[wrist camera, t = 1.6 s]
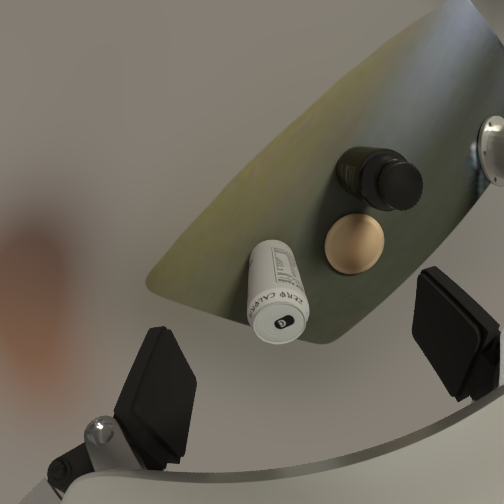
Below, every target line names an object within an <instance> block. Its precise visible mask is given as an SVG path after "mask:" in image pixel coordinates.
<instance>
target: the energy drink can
mask: <svg viewBox="0 0 504 504" xmlns="http://www.w3.org/2000/svg"><path fill="white" fill-rule="evenodd" d="M308 317H309V305H308V301H307V298H306V295H305V291H304V288H303V285H302V281H301V278H300V275H299V271H298V268H297V265H296V262H295V259H294V255H293V253H292V250H291V249H290V248H289V247H288V246H287V245H286V244H285V243H283V242H281V241H278V240H267V241H263V242H261V243H259V244H258V245H257V246H256V247H255V248H254V249H253V250H252V252H251V254H250V259H249V279H248V300H247V318H248V322H249V324H250V325H251V327H252V328H253V329H254V332H255V333H256V335H257V336H258V337H259V338H260V339H261V340H263V341H265V342H267V343H271V344H285V343H289V342H291V341H293V340H295V339H296V338H298V337H299V336H300V335H301V334H302V332H303V331H304V329H305V326H306V322H307V320H308Z"/></svg>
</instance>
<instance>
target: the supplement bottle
mask: <svg viewBox="0 0 504 504" xmlns="http://www.w3.org/2000/svg"><path fill="white" fill-rule="evenodd" d="M337 178H338V181H339V184H340V185H341V187H342V188H343V189H344V190H345V191H346V192H347V193H348V194H350V195H351V196H353V197H355V198H356V199H358V200H360V201H362V202H363V203H365V204H367V205H368V206H370V207H372V208H374V209H376V210H379V211H392V210H395V209H396V210H401V211H402V210H407V209H410V208H411V207H413V206H414V205H416V204H417V202H418V201H419V199H420V197H421V194H422V190H423V182H422V178H421V174H420V173H419V170H417V168H416V167H414V165H413V164H410V163H409V162H407V160H406V159H405V158H404V157H403V156H402V155H401V154H399V153H398V152H396V151H394V150H390V149H384V148H373V147H354V148H351V149H349V150H347V151H346V152H345V153H344V154H343V155H342V156H341V158H340V159H339V162H338V165H337Z"/></svg>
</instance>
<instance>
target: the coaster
mask: <svg viewBox="0 0 504 504" xmlns="http://www.w3.org/2000/svg"><path fill="white" fill-rule="evenodd" d="M383 247H384V234H383V231H382V228H381V227H380V225H379V224H378V222H377V221H375V220H374V219H373V218H372V217H370V216H368V215H366V214H362V213H353V214H348V215H346V216H343V217H342V218H340V219H339V220H337V221H336V222H335V223H334V224H333V225H332V227H331V228H330V230H329V231H328V233H327V236H326V239H325V254H326V257H327V259H328V261H329V262H330V264H331V265H332V266H333V267H334V268H335V269H336V270H338V271H339V272H342V273H345V274H357V273H361V272H363V271H365V270H367V269H369V268H370V267H371V266H373V265H374V264H375V263H376V261H377V260H378V259H379V257H380V255H381V253H382V250H383Z"/></svg>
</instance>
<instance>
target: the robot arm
mask: <svg viewBox="0 0 504 504" xmlns="http://www.w3.org/2000/svg"><path fill="white" fill-rule="evenodd" d="M478 153H479V159H480V164H481V167H482V170H483V172H484V174H485V176H486V178H487V179H488V180H489V181H490V182H491V183H492V184H494V185H497V186H504V119H503V118H502V117H499V116H490V117H488V118H487V119H486V120H485V121H484V122H483V124H482V126H481V129H480V133H479V139H478ZM499 326H500V325H499V324H498V323H497V322H496V321H495V320H494V319H493V318H492V317H491V316H490V315H489V314H488V313H487V312H486V311H485V310H484V309H483V308H482V307H481V306H480V305H479V304H478V303H477V302H476V301H475V300H474V299H473V298H471V297H470V296H469V295H468V294H467V293H466V292H465V291H464V290H463V289H461V288H460V287H459V286H458V285H457V284H456V283H455V282H454V281H452V280H451V279H450V278H449V277H448V276H447V275H445V274H444V273H443V272H442V271H441V270H439V269H438V268H437V267H436V266H433V267H430V268H427V269H424V270H422V271H421V273H420V275H418V278H417V290H416V300H415V309H414V317H413V325H412V335H413V337H414V339H415V341H416V342H417V344H418V345H419V346H420V348H421V350H422V351H423V353H424V354H425V356H426V357H427V359H428V360H429V362H430V363H431V365H432V366H433V368H434V370H435V371H436V373H437V374H438V376H439V377H440V379H441V381H442V382H443V384H444V386H445V387H446V389H447V390H448V392H449V394H450V395H451V396H452V397H454V396H455V398H456V400H457V401H458V402H460V401H461V400H463V399H465V398H467V397H469V395H470V397H471V398H472V403H471V404H470V405H468V406H466V407H465V408H463V409H461V410H459V411H457V412H455V413H454V414H452V415H450V416H448V417H446V418H444V419H442V420H440V421H438V422H436V423H434V424H432V425H429V426H427V427H425V428H422V429H420V430H418V431H415V432H413V433H411V434H408V435H406V436H403V437H401V438H398V439H395V440H393V441H390V442H387V443H384V444H381V445H378V446H375V447H372V448H369V449H366V450H362V451H359V452H356V453H352V454H348V455H345V456H341V457H337V458H333V459H328V460H324V461H319V462H314V463H309V464H303V465H298V466H291V467H284V468H277V469H269V470H259V471H246V472H227V473H190V472H188V473H187V472H169V471H167V470H166V466H167V463H175V464H179V463H180V458H181V457H183V456H184V454H185V450H186V444H187V438H188V432H189V426H190V420H191V414H192V408H193V403H194V397H195V392H196V387H197V382H196V377H195V375H194V374H193V372H192V370H191V368H190V366H189V364H188V362H187V361H186V359H185V357H184V355H183V353H182V351H181V349H180V347H179V345H178V343H177V341H176V339H175V337H174V335H173V333H172V331H171V330H169V329H168V330H167V328H166V327H164V326H162V327H154V328H150V329H149V330H148V332H147V335H146V337H145V339H144V341H143V343H142V346H141V348H140V350H139V352H138V354H137V357H136V359H135V361H134V363H133V366H132V368H131V370H130V372H129V375H128V377H127V379H126V382H125V384H124V386H123V389H122V391H121V394H120V396H119V399H118V401H117V403H116V406H115V408H114V412H115V413H114V416H113V417H111V416H100V417H98V418H95V419H94V420H92V421H91V422H90V423H89V424H88V425H87V427H86V429H85V431H84V441H85V442H84V443H82V444H81V445H79V446H77V447H76V448H74V449H72V450H70V451H69V452H67V453H65V454H63V455H62V456H60V457H58V458H56V459H55V460H54V461H52V463H51V464H50V465H49V468H48V473H47V476H48V480H47V479H46V478H43V479H42V480H41V481H40V482H39V483H38V484H37V485H36V486H35V487H34V488H33V489H32V490H31V491H30V492H29V493H28V494H27V495H26V496H25V497H24V498H23V499H22V500H21V502H20V504H504V329H503V330H502V332H500V331H499V330H498V329H499Z"/></svg>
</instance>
